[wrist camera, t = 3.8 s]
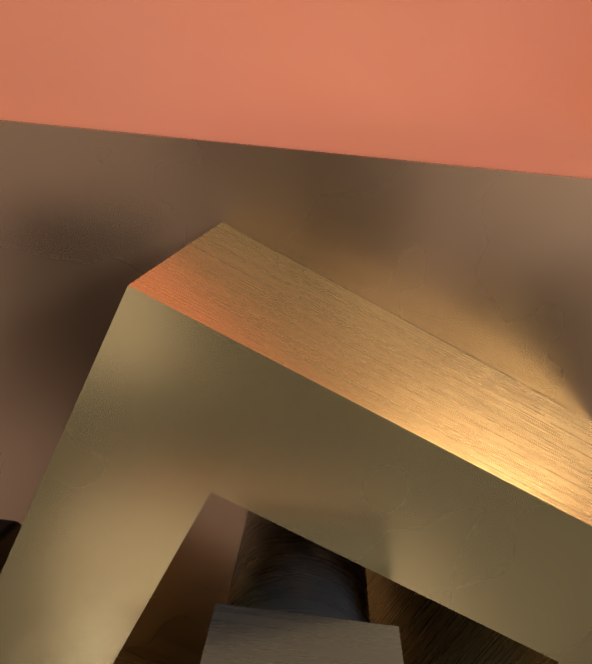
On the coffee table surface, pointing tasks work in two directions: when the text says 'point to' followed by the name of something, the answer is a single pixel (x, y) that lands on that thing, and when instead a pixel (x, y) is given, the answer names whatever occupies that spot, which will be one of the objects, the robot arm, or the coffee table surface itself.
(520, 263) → the brown peg base plate
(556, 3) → the coffee table surface
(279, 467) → the gold hollow rectangular block
